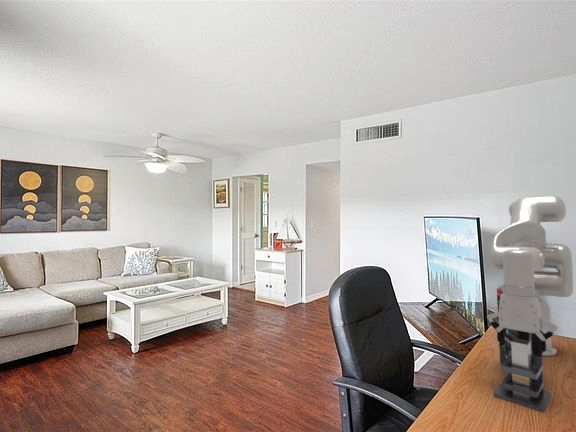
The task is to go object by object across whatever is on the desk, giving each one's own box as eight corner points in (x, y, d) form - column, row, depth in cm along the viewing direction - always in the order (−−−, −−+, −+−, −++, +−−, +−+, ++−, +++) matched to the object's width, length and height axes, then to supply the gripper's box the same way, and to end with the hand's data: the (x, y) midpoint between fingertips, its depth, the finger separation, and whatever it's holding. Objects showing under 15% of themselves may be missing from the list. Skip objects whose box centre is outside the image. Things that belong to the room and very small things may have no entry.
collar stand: (504, 382, 107) (503, 347, 107) (551, 395, 98) (550, 358, 98) (493, 396, 98) (492, 358, 99) (544, 412, 90) (542, 371, 90)
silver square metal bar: (516, 387, 101) (514, 338, 101) (532, 392, 98) (530, 341, 98) (512, 392, 98) (510, 341, 99) (529, 397, 95) (527, 345, 96)
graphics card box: (545, 386, 103) (542, 298, 104) (520, 385, 105) (517, 298, 105) (518, 363, 120) (516, 288, 121) (497, 362, 121) (495, 287, 122)
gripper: (482, 289, 103) (484, 345, 102) (553, 297, 90) (556, 361, 90) (489, 285, 108) (491, 338, 107) (558, 292, 95) (560, 353, 95)
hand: (521, 348), depth 99 cm, fingers open, 9 cm apart
